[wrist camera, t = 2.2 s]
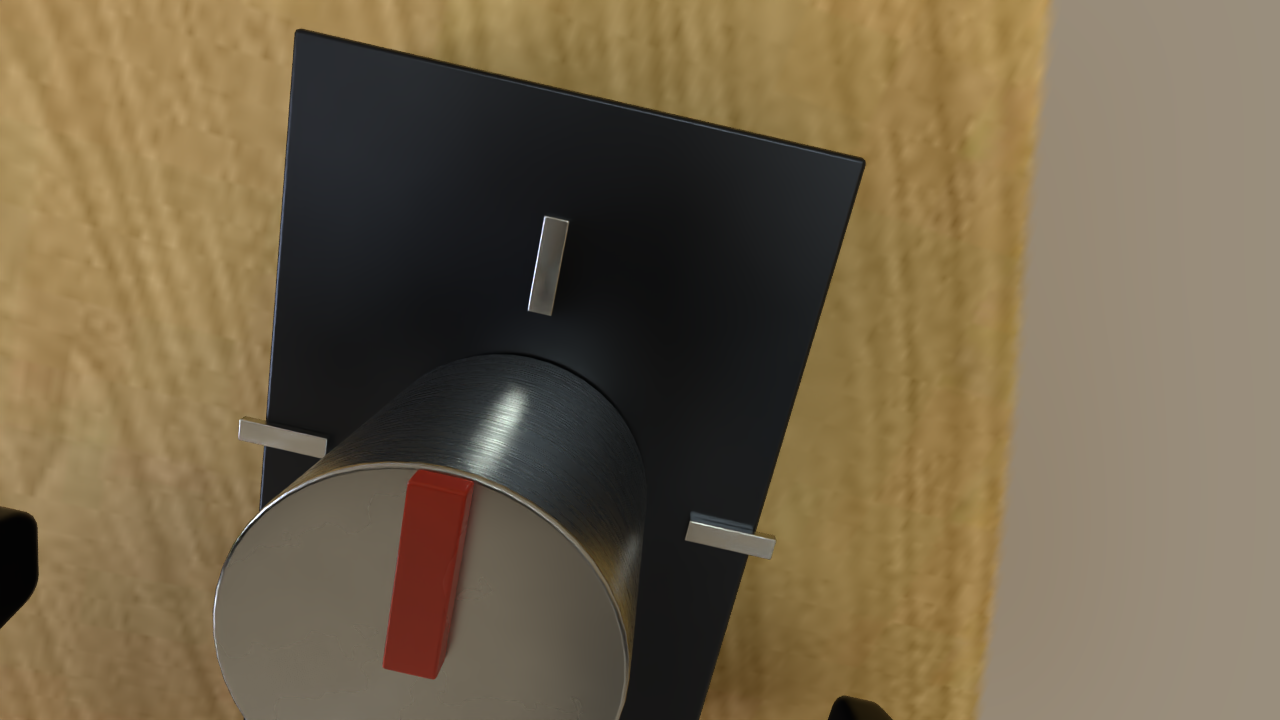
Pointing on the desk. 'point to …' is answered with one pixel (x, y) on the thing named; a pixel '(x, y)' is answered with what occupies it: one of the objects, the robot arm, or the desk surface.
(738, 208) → the lock panel
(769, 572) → the desk surface
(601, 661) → the lock knob
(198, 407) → the desk surface
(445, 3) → the desk surface
